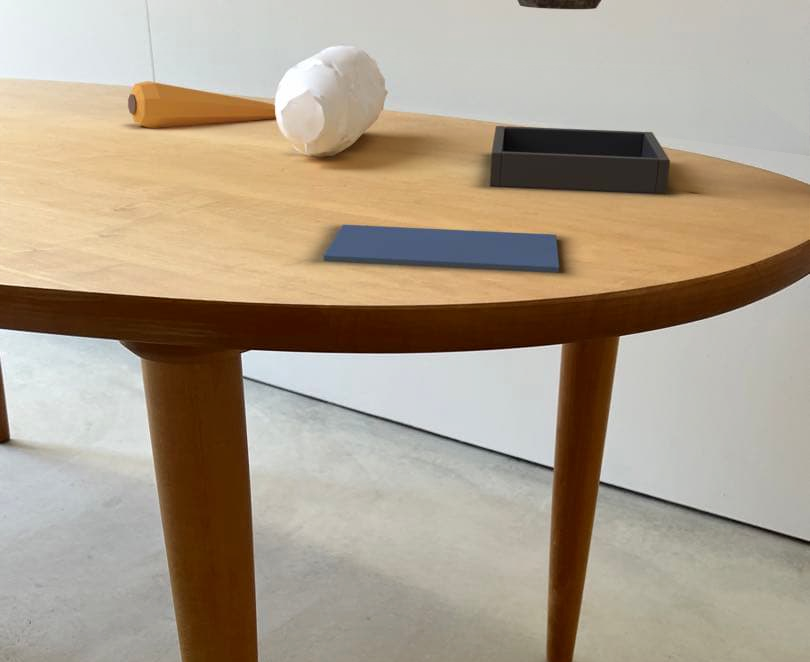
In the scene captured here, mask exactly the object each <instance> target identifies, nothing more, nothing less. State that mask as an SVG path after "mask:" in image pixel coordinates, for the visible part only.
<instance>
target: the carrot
mask: <svg viewBox="0 0 810 662" xmlns="http://www.w3.org/2000/svg"><path fill="white" fill-rule="evenodd" d="M130 92H131V93H129V96H128V98H127V108H128V111H129V114H131V116H132V119H133V122H134V124H136V125H139V126H142V127H145V128H149V129H158V128H172V127H185V126H198V125H211V124H223V123H234V122H236V123H237V122H247V121H249V122H250V121H259V120H272V119H276V115H275V104H274V103H269V102H265V101H261V100H260V101H259V100H254V99H249V98H244V97H238V96H232V95H227V94H221V93H215V92H211V91H204V90H198V89H195V88H194V89H193V88H188V87H182V86H177V85H171V84H167V83H161V82H155V81H150V80H146V81H143V82H137V83H134V84H133V87H132V90H131V91H130Z"/></svg>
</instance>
